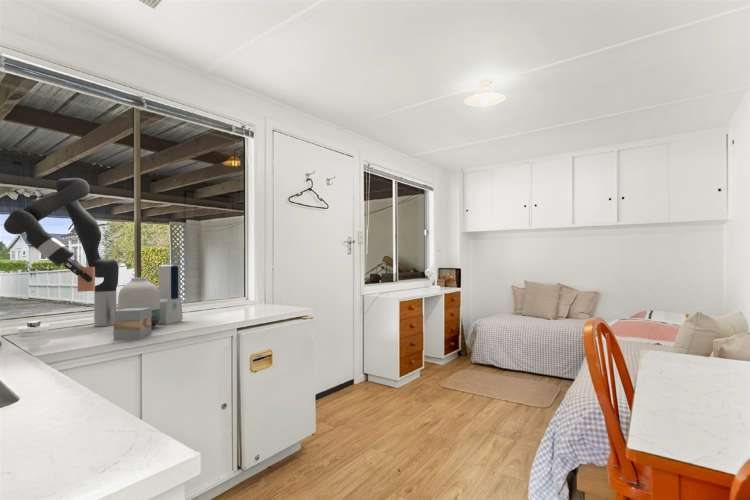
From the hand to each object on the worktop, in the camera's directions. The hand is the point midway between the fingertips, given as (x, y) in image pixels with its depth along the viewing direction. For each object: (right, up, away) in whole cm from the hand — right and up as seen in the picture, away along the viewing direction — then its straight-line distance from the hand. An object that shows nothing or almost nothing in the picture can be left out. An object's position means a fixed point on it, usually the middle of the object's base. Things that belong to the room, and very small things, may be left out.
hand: (91, 280), depth 162 cm
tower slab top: (+17, -16, +1) cm, 23 cm away
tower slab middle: (+17, -20, +1) cm, 26 cm away
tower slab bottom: (+17, -24, 0) cm, 30 cm away
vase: (+7, -25, +21) cm, 33 cm away
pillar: (-2, -4, -1) cm, 5 cm away
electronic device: (+12, -25, +38) cm, 47 cm away
